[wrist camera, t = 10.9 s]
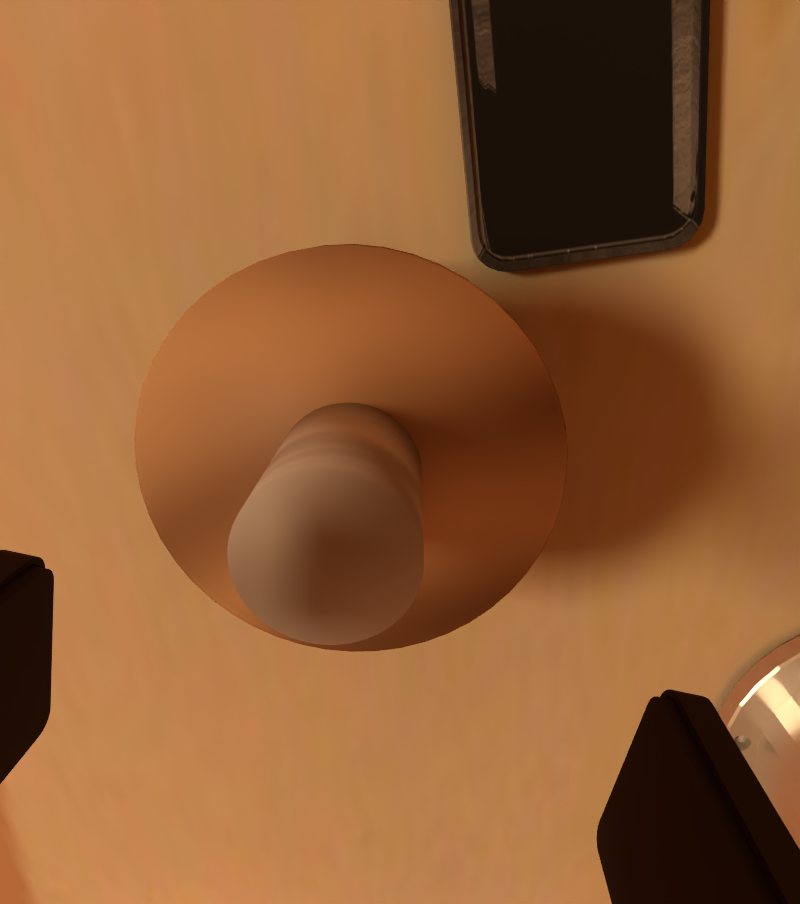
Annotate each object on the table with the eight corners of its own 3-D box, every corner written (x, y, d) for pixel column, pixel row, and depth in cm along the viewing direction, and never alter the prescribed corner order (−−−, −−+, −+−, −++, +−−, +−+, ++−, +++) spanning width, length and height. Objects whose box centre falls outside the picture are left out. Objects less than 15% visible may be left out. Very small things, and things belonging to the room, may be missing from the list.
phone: (719, -355, 16) (703, 244, 21) (700, -319, 17) (690, 244, 22) (420, -295, 17) (472, 276, 22) (419, -265, 18) (470, 274, 23)
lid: (620, 533, 19) (710, 666, 13) (289, 680, 21) (241, 850, 15) (442, 154, 16) (457, 110, 10) (68, 375, 18) (-101, 447, 12)
